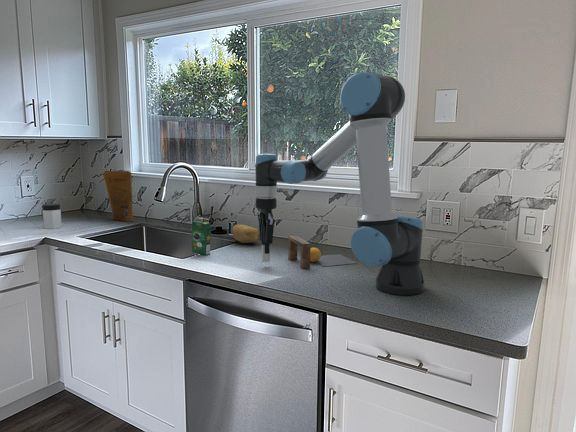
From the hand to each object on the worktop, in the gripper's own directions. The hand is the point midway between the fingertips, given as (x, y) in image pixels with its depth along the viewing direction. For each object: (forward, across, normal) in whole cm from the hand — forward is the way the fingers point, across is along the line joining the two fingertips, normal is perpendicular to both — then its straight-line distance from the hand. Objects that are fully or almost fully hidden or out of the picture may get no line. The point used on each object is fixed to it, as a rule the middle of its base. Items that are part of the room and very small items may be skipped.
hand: (265, 261), depth 163 cm
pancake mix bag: (+2, +114, +49) cm, 124 cm away
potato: (+2, +39, -3) cm, 39 cm away
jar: (+2, +102, +82) cm, 131 cm away
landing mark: (+2, 0, -27) cm, 27 cm away
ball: (-1, 0, -19) cm, 19 cm away
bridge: (+2, 0, -13) cm, 13 cm away
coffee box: (+2, +26, +19) cm, 32 cm away
